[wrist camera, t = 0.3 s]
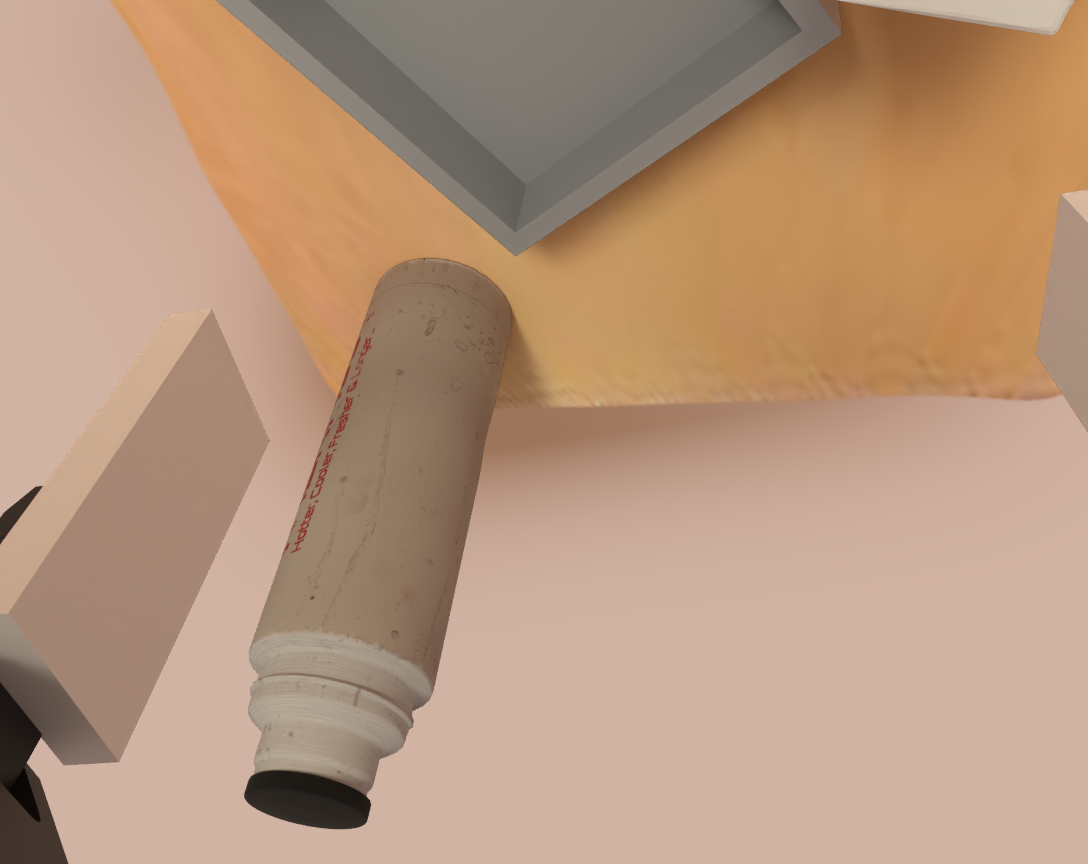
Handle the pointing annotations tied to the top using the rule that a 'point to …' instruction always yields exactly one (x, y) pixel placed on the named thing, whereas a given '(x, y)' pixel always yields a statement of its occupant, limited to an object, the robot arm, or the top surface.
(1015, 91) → the top surface
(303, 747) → the thermos bottle
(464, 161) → the tray
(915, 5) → the skincare box
